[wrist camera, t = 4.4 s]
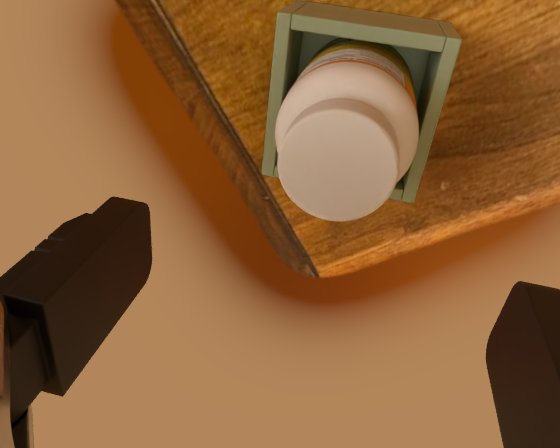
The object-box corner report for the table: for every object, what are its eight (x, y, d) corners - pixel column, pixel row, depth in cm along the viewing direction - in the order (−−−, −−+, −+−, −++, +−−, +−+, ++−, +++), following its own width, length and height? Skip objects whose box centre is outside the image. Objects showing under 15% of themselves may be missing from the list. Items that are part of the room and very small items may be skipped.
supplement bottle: (379, 158, 25) (371, 264, 17) (286, 114, 25) (234, 200, 17) (434, 62, 22) (458, 134, 14) (330, 12, 22) (293, 55, 14)
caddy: (279, 142, 26) (261, 175, 22) (295, -1, 22) (276, 11, 19) (410, 166, 25) (413, 204, 22) (451, 22, 21) (463, 39, 18)
